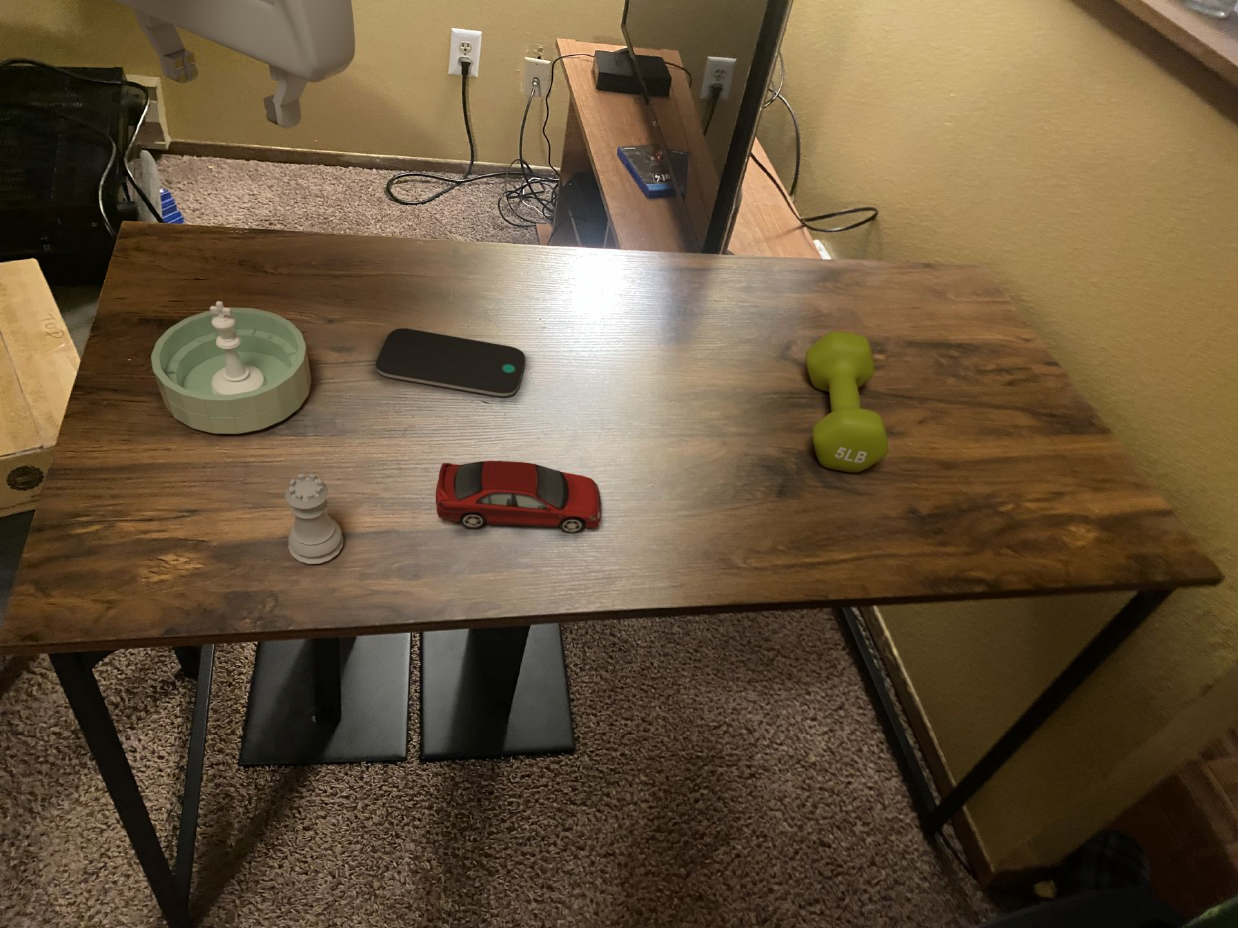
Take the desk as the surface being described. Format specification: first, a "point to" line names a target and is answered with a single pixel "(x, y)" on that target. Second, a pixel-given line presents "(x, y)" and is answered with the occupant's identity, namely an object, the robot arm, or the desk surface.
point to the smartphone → (451, 362)
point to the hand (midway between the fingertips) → (232, 100)
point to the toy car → (516, 496)
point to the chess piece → (232, 358)
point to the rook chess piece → (312, 522)
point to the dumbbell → (845, 403)
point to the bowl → (195, 358)
